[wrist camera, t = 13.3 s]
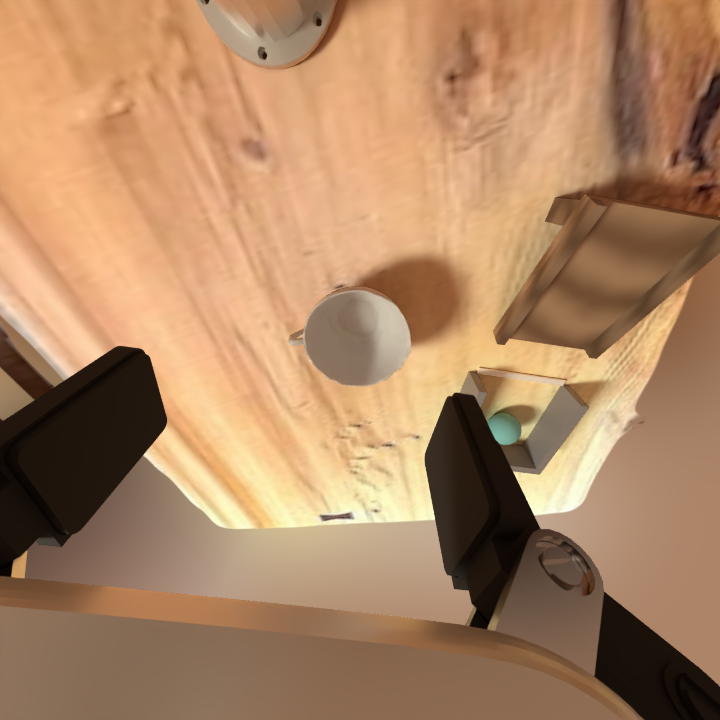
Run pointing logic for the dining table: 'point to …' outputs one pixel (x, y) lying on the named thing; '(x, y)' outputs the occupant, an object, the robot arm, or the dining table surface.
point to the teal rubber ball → (505, 428)
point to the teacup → (356, 336)
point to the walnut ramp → (607, 271)
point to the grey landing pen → (548, 429)
